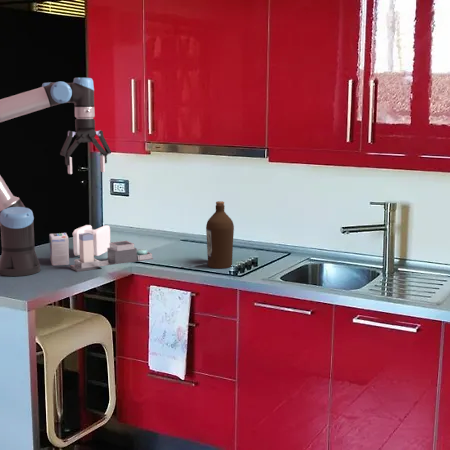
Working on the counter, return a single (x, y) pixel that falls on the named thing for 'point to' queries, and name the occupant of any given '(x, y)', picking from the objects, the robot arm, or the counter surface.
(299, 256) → the counter surface
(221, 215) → the olive oil
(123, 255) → the grey stepped holder
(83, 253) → the pink upright block
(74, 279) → the counter surface
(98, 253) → the cable organizer
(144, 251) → the release button
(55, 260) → the light bulb box
